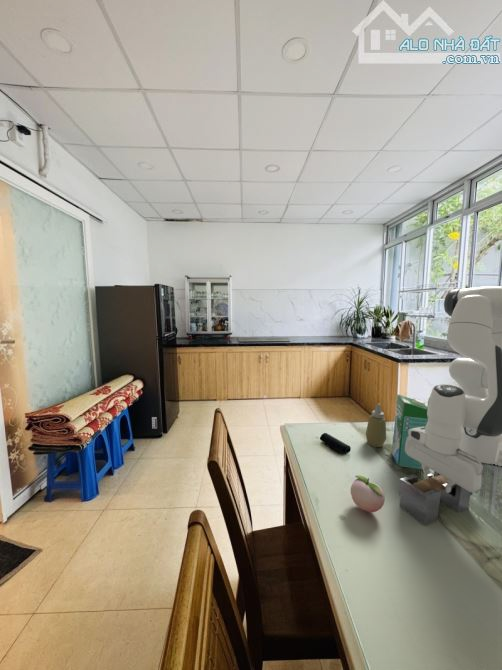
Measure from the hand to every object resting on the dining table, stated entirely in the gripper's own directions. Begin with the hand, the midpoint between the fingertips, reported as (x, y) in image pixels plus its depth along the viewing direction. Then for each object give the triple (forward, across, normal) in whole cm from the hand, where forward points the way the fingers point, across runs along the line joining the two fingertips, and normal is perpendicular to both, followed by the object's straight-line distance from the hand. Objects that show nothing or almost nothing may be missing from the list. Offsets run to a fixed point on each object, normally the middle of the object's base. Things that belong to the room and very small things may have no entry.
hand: (436, 485), depth 81 cm
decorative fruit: (+7, +6, +21) cm, 23 cm away
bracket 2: (+7, 0, -7) cm, 10 cm away
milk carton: (+7, +20, -14) cm, 25 cm away
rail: (+1, -2, 0) cm, 2 cm away
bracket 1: (+7, 0, +7) cm, 10 cm away
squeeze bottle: (+7, +34, -12) cm, 37 cm away
